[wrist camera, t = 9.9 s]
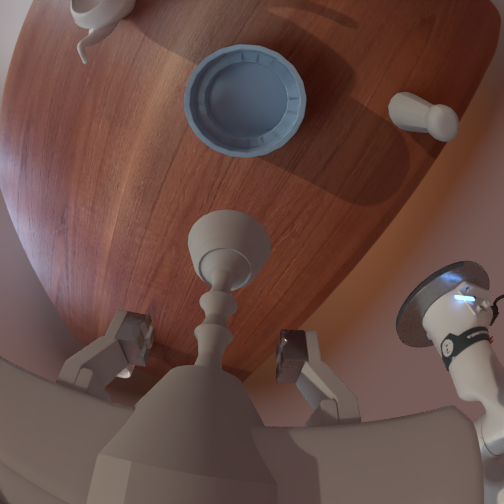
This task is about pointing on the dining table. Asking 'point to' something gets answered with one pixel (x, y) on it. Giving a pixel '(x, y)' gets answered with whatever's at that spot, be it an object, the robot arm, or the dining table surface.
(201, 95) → the bowl
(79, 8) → the teapot
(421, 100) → the salt shaker
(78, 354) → the robot arm
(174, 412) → the chalice
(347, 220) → the dining table surface
